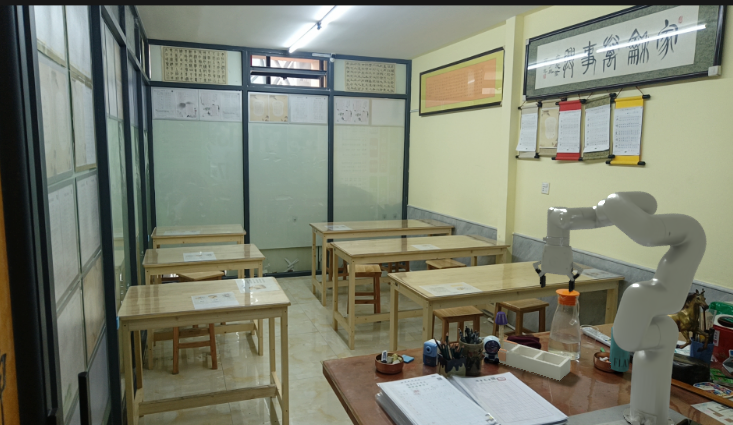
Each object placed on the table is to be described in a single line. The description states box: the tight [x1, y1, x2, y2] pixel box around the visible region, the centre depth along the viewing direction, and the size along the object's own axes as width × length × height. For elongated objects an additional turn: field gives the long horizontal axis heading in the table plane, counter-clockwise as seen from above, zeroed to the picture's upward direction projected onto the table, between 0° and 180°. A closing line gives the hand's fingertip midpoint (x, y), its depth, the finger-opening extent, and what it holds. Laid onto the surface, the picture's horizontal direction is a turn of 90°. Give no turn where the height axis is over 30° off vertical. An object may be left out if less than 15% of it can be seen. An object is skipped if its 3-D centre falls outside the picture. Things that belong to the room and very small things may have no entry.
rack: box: [498, 339, 572, 382], centre depth 173 cm, size 11×28×5 cm, turn 48°
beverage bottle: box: [608, 326, 631, 373], centre depth 167 cm, size 6×7×20 cm
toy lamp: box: [494, 311, 509, 349], centre depth 179 cm, size 5×5×17 cm
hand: (556, 289), depth 170 cm, fingers open, 9 cm apart
